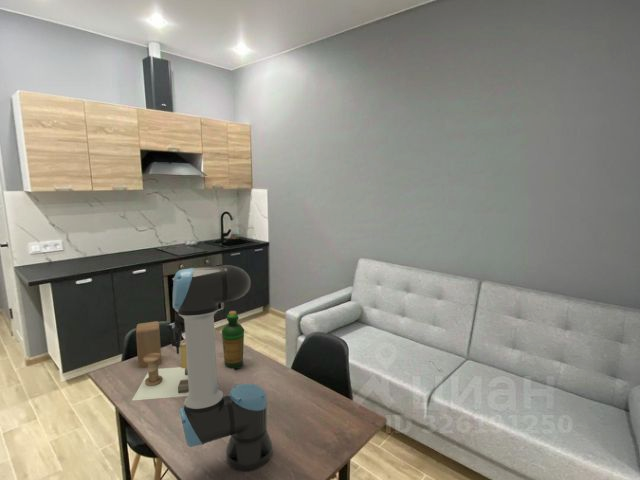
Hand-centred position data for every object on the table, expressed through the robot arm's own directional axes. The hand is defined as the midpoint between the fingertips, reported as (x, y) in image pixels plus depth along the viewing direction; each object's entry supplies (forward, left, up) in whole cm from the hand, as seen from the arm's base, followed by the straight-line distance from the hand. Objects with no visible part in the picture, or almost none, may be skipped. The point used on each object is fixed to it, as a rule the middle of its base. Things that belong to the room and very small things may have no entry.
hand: (186, 359), depth 156 cm
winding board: (0, +8, -11) cm, 14 cm away
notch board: (0, 0, -10) cm, 10 cm away
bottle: (+12, -20, -12) cm, 26 cm away
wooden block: (+20, +21, -12) cm, 31 cm away
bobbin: (+1, +14, -10) cm, 18 cm away
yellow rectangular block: (0, 0, -3) cm, 3 cm away
